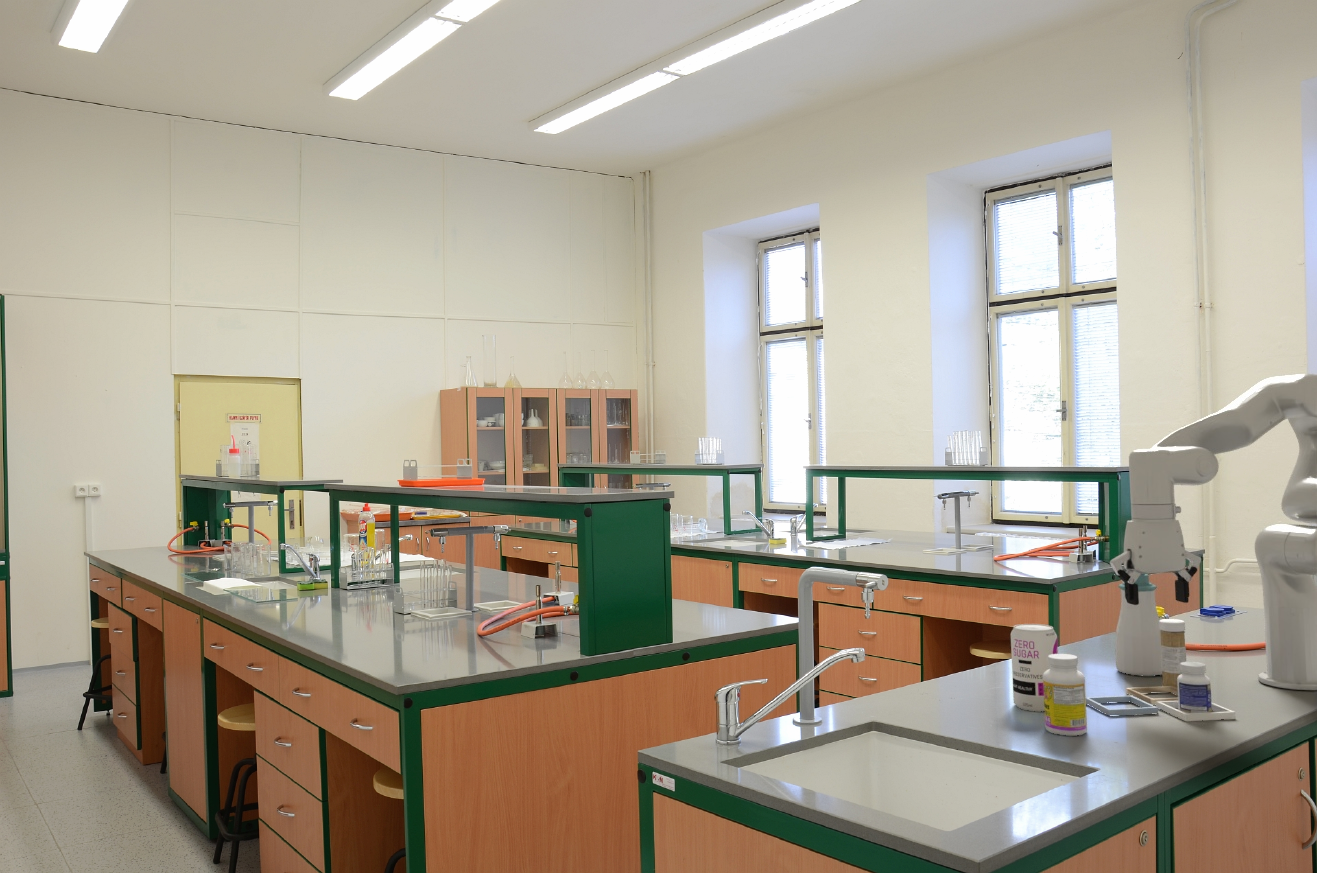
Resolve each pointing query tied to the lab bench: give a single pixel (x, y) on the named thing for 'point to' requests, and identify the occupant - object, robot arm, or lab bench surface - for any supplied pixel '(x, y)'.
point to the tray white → (1217, 715)
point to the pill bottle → (1194, 688)
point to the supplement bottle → (1064, 696)
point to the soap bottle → (1139, 632)
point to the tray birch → (1137, 691)
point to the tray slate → (1125, 711)
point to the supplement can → (1031, 663)
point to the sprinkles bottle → (1172, 649)
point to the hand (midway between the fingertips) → (1157, 602)
